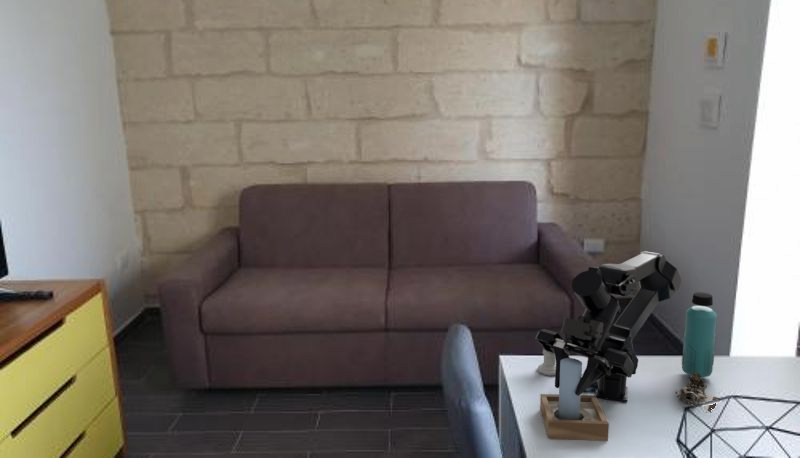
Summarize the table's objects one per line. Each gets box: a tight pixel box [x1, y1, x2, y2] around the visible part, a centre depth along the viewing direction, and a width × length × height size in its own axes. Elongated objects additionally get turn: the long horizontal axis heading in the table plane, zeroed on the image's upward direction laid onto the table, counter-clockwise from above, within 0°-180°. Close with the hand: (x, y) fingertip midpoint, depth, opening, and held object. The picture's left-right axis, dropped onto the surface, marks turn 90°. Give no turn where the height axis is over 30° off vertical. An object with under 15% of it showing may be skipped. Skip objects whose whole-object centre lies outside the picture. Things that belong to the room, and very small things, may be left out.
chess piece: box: [537, 348, 556, 377], centre depth 141 cm, size 5×5×9 cm
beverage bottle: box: [681, 291, 718, 378], centre depth 136 cm, size 6×7×20 cm
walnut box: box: [539, 393, 610, 442], centre depth 119 cm, size 11×11×4 cm
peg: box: [558, 357, 583, 420], centre depth 116 cm, size 4×4×12 cm
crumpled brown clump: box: [674, 372, 721, 414], centre depth 126 cm, size 12×6×11 cm
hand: (566, 390), depth 115 cm, fingers closed on peg, 4 cm apart
